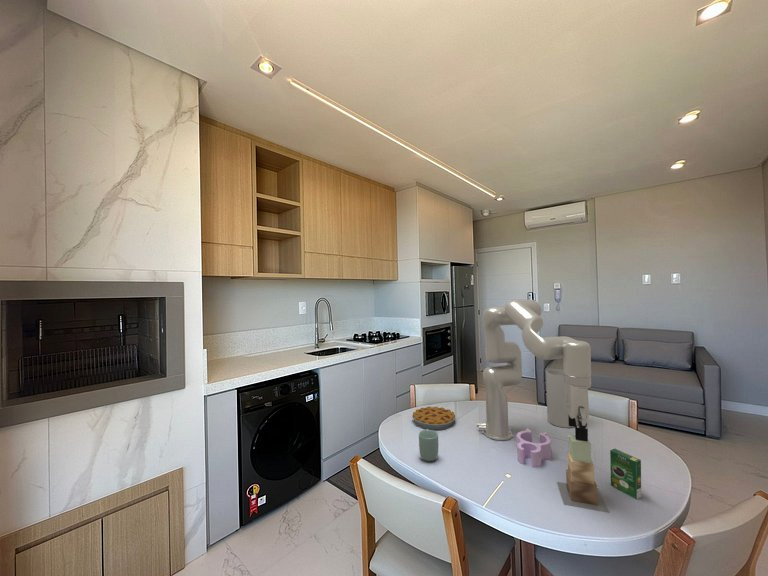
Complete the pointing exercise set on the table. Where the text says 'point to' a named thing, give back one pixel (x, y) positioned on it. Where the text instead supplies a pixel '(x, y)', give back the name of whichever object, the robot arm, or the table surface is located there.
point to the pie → (433, 418)
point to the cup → (428, 445)
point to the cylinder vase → (556, 399)
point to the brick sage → (579, 450)
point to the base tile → (567, 501)
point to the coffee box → (625, 473)
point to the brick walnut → (581, 491)
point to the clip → (533, 448)
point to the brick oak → (581, 471)
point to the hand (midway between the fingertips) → (577, 433)
